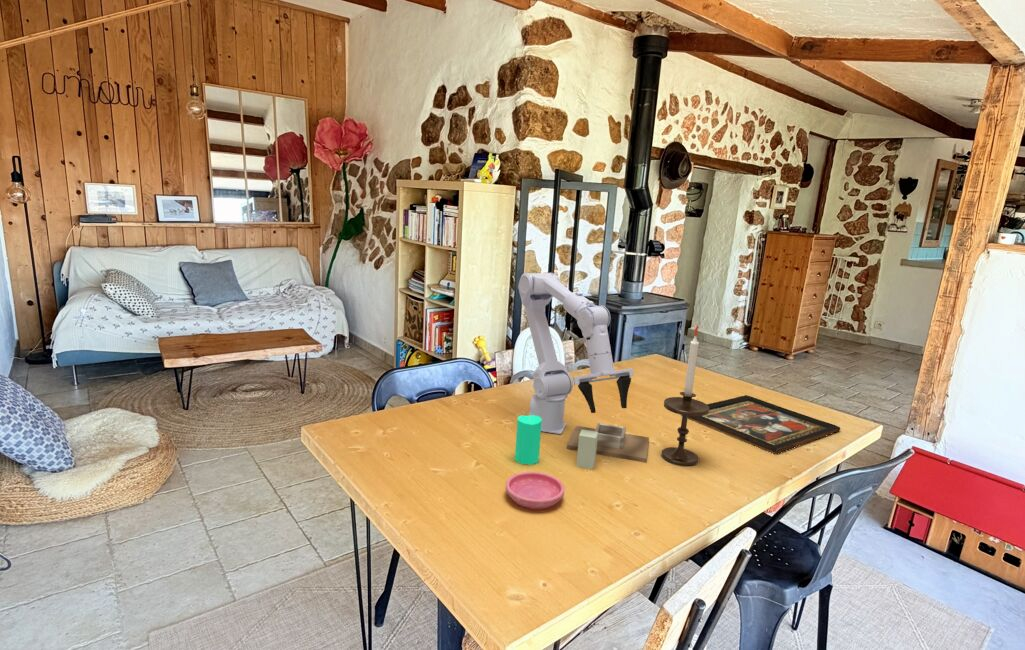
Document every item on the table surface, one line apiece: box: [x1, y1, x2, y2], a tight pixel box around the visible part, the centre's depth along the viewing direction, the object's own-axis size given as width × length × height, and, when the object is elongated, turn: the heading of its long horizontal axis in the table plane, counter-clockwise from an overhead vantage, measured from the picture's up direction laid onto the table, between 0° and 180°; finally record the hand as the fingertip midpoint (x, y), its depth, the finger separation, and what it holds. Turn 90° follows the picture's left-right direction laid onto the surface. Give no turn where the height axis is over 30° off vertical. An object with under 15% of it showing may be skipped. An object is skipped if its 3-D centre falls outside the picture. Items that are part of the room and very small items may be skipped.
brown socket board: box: [566, 422, 650, 463], centre depth 147 cm, size 20×14×4 cm
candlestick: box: [660, 323, 710, 467], centre depth 138 cm, size 11×11×35 cm
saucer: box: [505, 471, 565, 510], centre depth 118 cm, size 12×12×3 cm
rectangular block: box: [576, 429, 598, 470], centre depth 134 cm, size 4×4×8 cm
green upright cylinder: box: [514, 414, 542, 466], centre depth 135 cm, size 6×6×12 cm
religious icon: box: [687, 394, 841, 455], centre depth 169 cm, size 38×35×3 cm
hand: (608, 410), depth 135 cm, fingers open, 7 cm apart
